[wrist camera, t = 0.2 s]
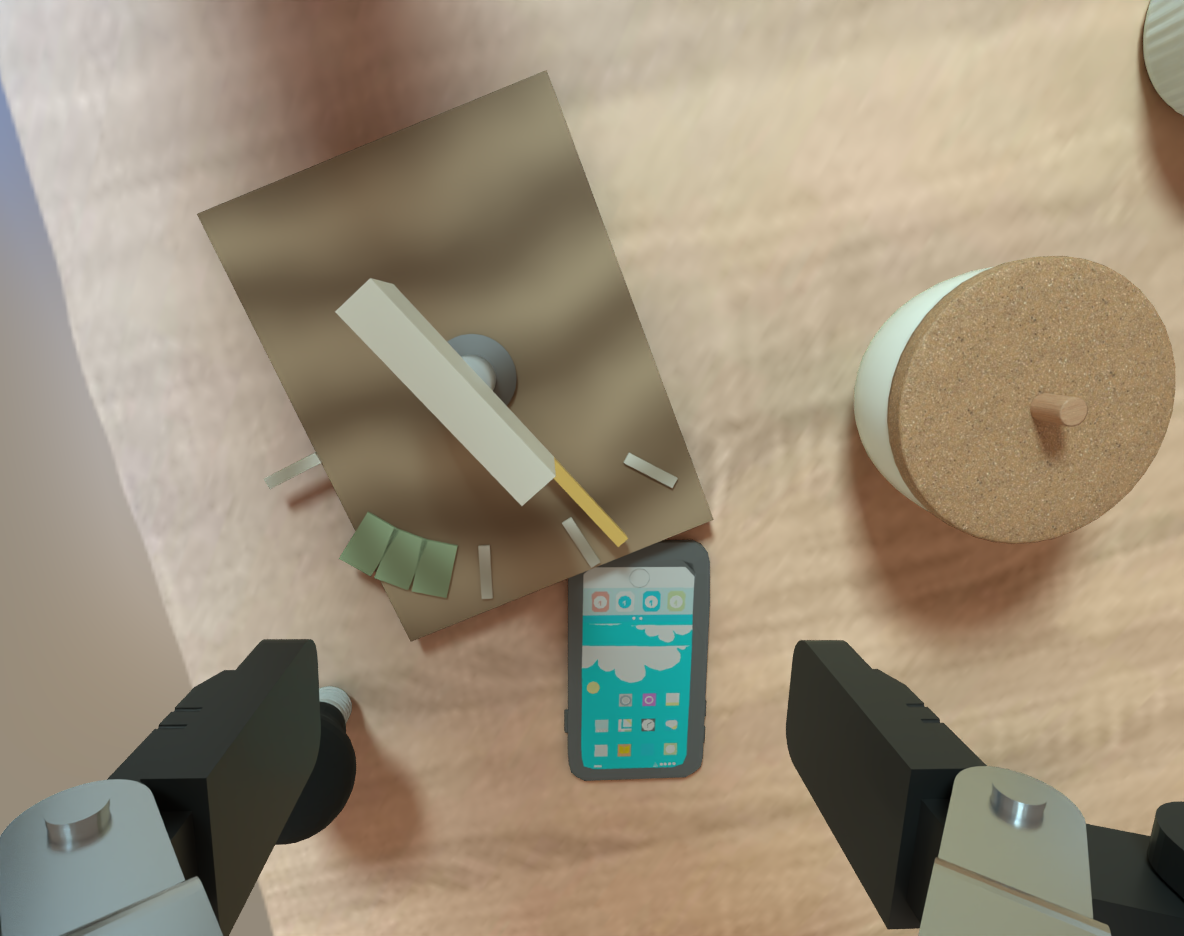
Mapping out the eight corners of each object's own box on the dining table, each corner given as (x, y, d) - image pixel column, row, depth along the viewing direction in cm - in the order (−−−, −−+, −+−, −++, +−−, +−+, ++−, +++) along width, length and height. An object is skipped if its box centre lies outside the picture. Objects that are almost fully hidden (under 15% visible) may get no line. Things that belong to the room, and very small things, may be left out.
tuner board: (156, 241, 34) (135, 236, 33) (546, 81, 34) (546, 67, 32) (367, 649, 40) (359, 664, 38) (707, 512, 39) (714, 521, 38)
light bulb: (283, 742, 40) (201, 875, 31) (281, 649, 39) (195, 757, 30) (385, 743, 41) (336, 875, 31) (386, 652, 40) (336, 759, 30)
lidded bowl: (1047, 461, 40) (1232, 512, 29) (840, 522, 40) (950, 594, 29) (1018, 243, 38) (1209, 211, 27) (796, 307, 37) (898, 301, 27)
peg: (383, 318, 34) (329, 317, 25) (418, 285, 34) (376, 272, 25) (604, 553, 37) (623, 622, 29) (638, 524, 37) (667, 585, 28)
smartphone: (716, 543, 39) (705, 778, 42) (712, 537, 40) (701, 768, 43) (564, 544, 39) (564, 783, 42) (564, 539, 40) (564, 773, 43)
